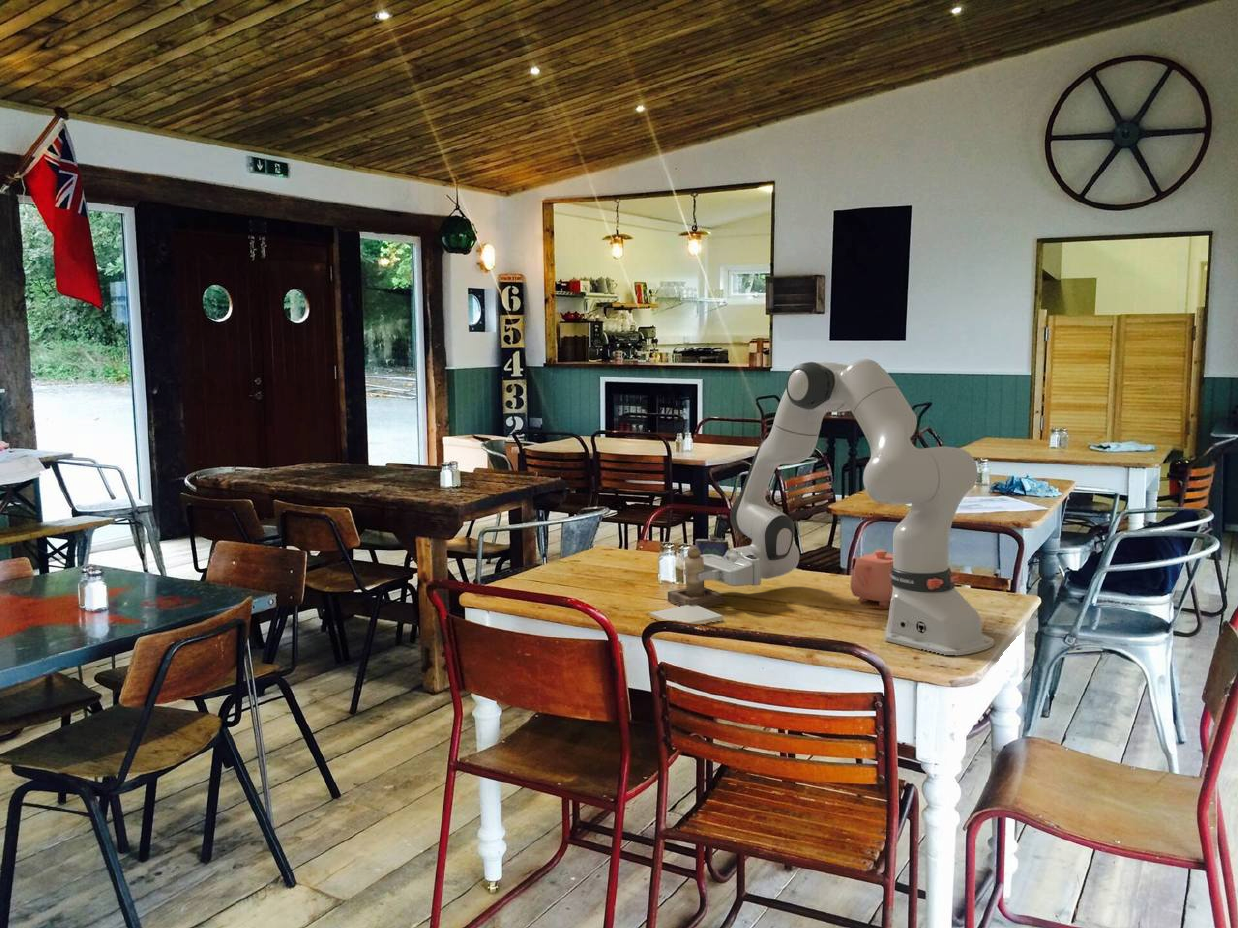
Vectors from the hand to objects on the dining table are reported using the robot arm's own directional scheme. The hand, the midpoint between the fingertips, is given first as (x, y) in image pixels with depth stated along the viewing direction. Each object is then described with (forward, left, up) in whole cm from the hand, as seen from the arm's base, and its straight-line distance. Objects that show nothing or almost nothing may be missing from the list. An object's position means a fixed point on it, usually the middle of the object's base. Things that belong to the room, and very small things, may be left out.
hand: (691, 574), depth 244 cm
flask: (+22, -21, -7) cm, 31 cm away
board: (-10, +8, -7) cm, 15 cm away
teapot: (-24, -38, -7) cm, 45 cm away
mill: (0, -1, -7) cm, 7 cm away
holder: (0, -1, -7) cm, 7 cm away
